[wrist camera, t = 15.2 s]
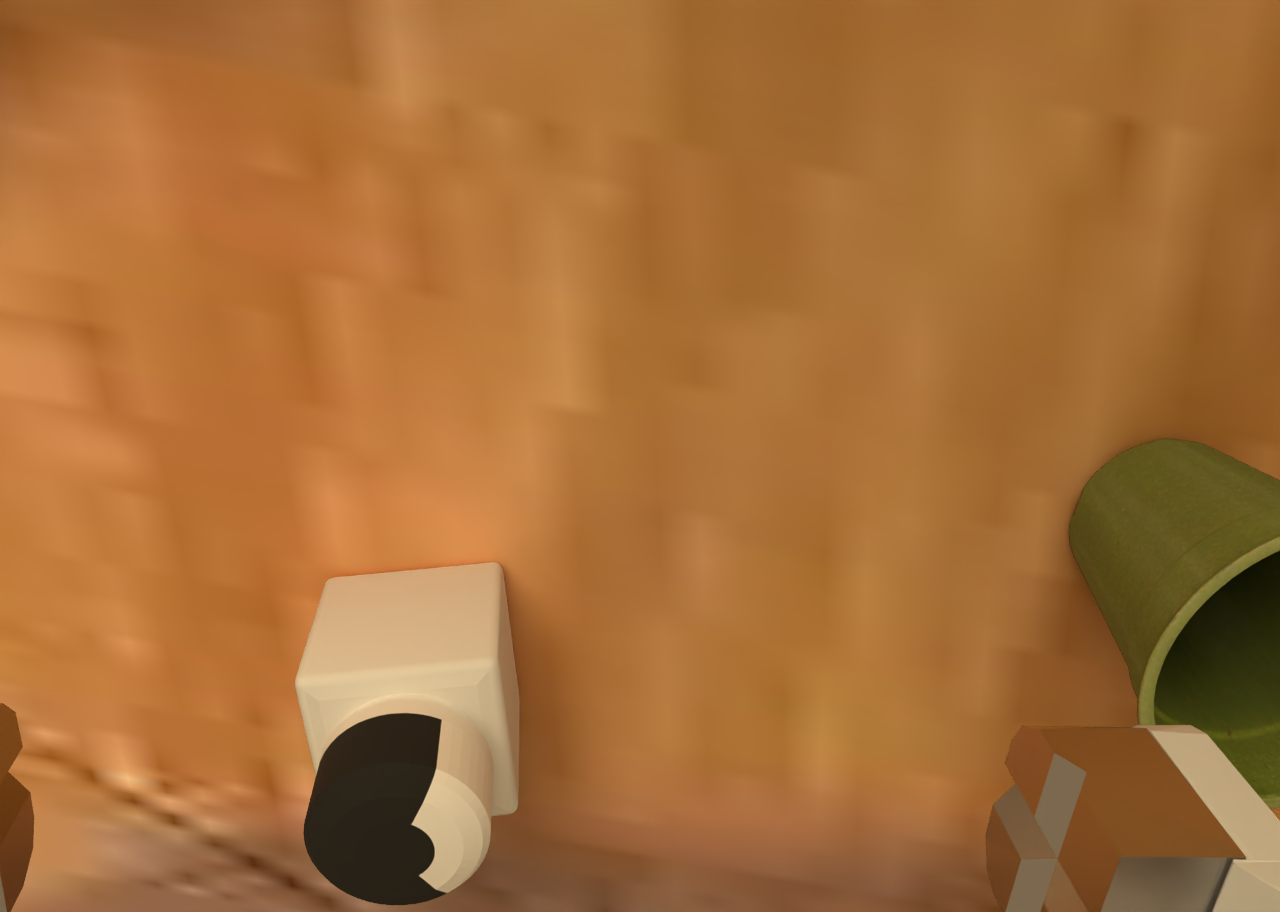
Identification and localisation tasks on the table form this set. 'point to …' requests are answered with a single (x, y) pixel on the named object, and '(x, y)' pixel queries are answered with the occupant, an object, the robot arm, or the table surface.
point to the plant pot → (1192, 593)
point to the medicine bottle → (409, 728)
